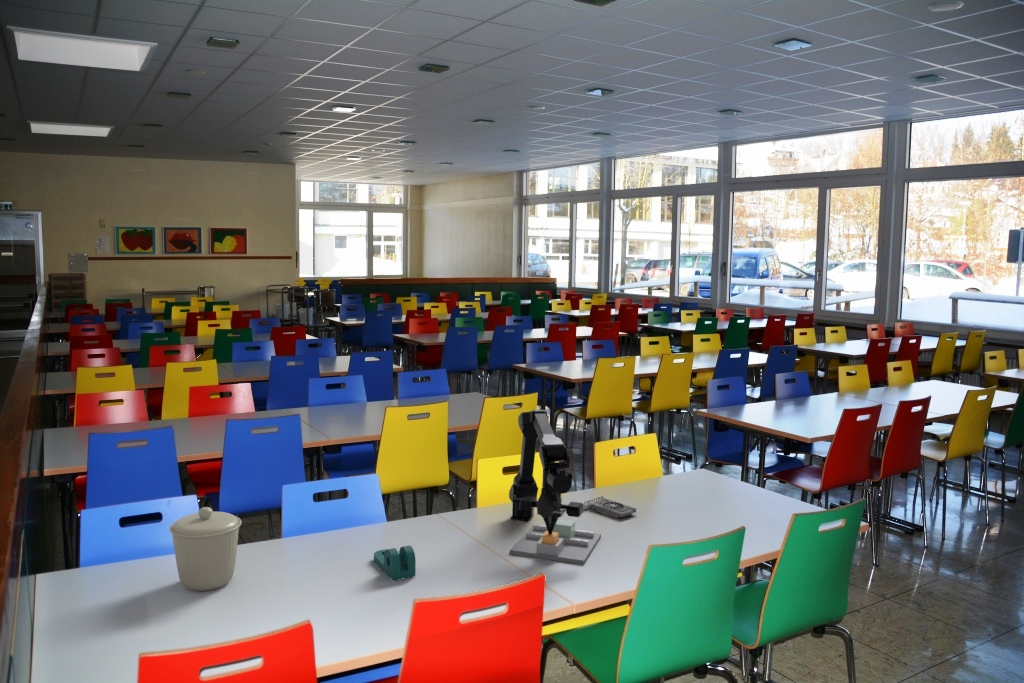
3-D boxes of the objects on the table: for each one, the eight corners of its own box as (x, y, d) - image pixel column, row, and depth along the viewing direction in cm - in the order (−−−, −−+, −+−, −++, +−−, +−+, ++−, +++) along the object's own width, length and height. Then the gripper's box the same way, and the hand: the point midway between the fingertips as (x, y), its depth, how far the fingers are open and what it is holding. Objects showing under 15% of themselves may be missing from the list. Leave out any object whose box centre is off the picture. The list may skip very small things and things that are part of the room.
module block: (546, 538, 251) (546, 522, 251) (550, 533, 256) (550, 517, 255) (570, 541, 249) (571, 526, 248) (574, 536, 253) (575, 521, 253)
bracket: (415, 577, 223) (415, 550, 222) (392, 581, 219) (392, 554, 218) (392, 555, 238) (392, 529, 237) (370, 559, 235) (370, 533, 234)
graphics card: (580, 501, 283) (602, 494, 291) (579, 512, 284) (602, 504, 292) (617, 514, 271) (639, 506, 279) (616, 525, 271) (638, 516, 280)
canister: (188, 568, 224) (186, 496, 222) (252, 571, 224) (251, 498, 221) (158, 596, 206) (155, 517, 204) (227, 598, 206) (225, 520, 203)
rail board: (509, 553, 241) (510, 540, 240) (532, 528, 263) (533, 515, 263) (584, 564, 234) (584, 550, 233) (601, 537, 256) (601, 524, 256)
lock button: (541, 551, 240) (542, 535, 239) (545, 546, 243) (545, 530, 243) (554, 553, 238) (555, 537, 238) (558, 548, 242) (558, 532, 242)
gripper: (513, 487, 234) (512, 538, 236) (575, 494, 228) (574, 547, 230) (525, 477, 244) (524, 526, 246) (584, 484, 239) (583, 534, 240)
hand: (550, 533), depth 240 cm, fingers closed, pressing on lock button
